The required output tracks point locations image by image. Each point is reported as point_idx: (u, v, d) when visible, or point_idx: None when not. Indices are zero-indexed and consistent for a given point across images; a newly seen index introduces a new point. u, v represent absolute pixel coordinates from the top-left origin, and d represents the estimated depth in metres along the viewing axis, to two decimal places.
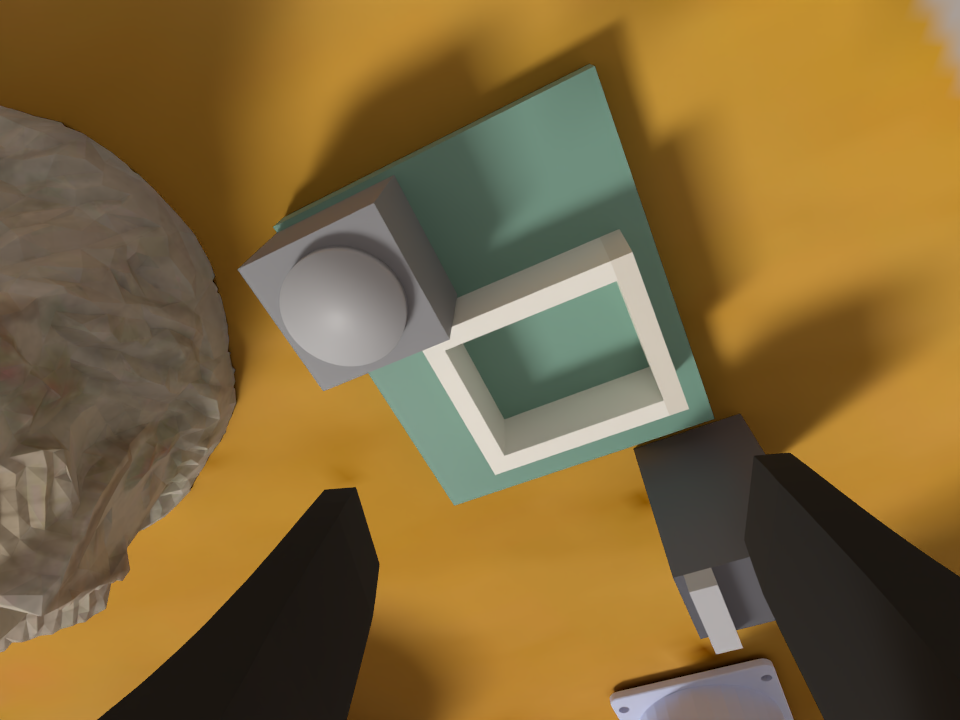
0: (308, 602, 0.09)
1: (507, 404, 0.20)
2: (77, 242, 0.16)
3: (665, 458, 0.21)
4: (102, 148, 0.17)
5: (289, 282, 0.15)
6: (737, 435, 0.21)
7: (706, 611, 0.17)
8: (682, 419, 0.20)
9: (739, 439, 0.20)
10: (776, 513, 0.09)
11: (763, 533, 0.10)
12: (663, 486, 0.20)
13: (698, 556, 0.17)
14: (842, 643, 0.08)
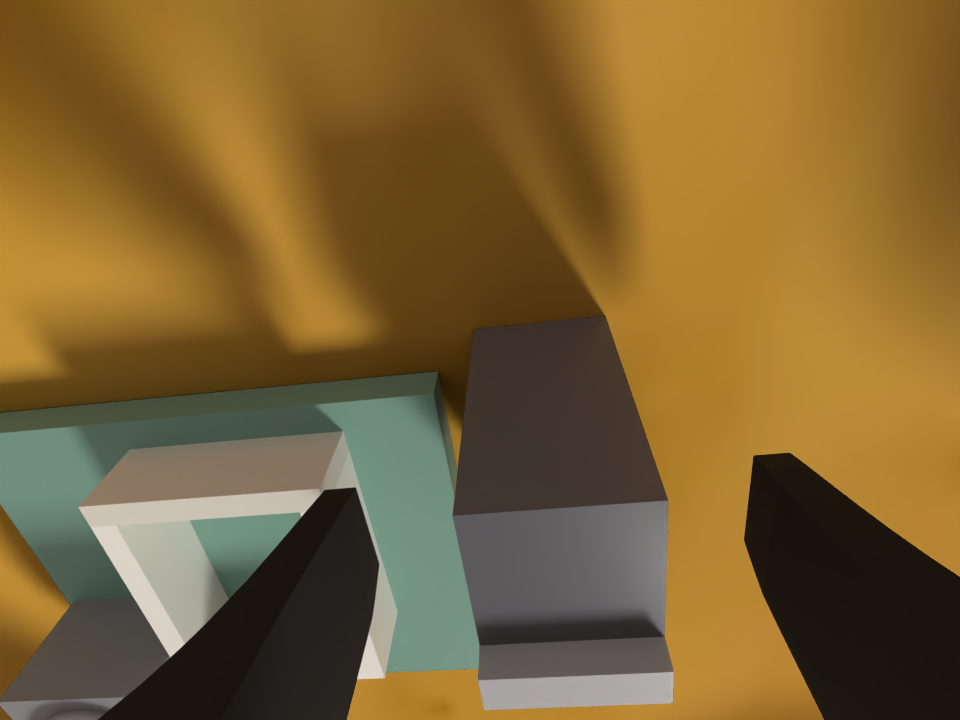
0: (308, 602, 0.09)
1: None
2: None
3: None
4: None
5: None
6: None
7: (542, 699, 0.09)
8: (422, 431, 0.14)
9: None
10: (776, 513, 0.09)
11: (763, 533, 0.10)
12: None
13: None
14: (842, 643, 0.08)
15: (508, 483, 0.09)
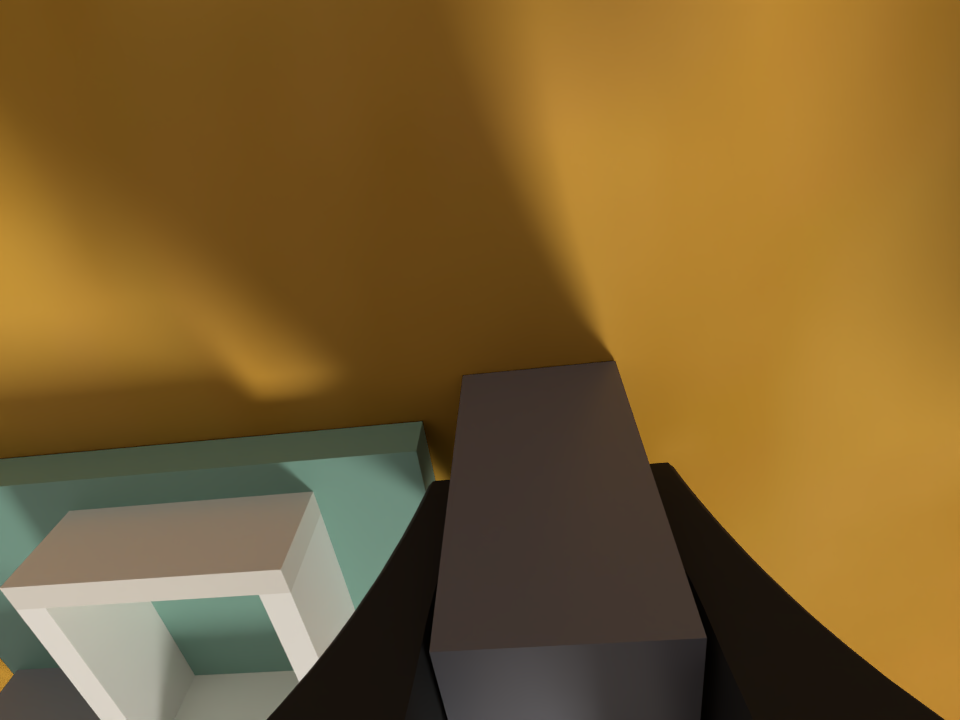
0: None
1: None
2: None
3: None
4: None
5: None
6: None
7: None
8: (404, 492, 0.12)
9: None
10: None
11: None
12: None
13: None
14: None
15: (501, 603, 0.07)
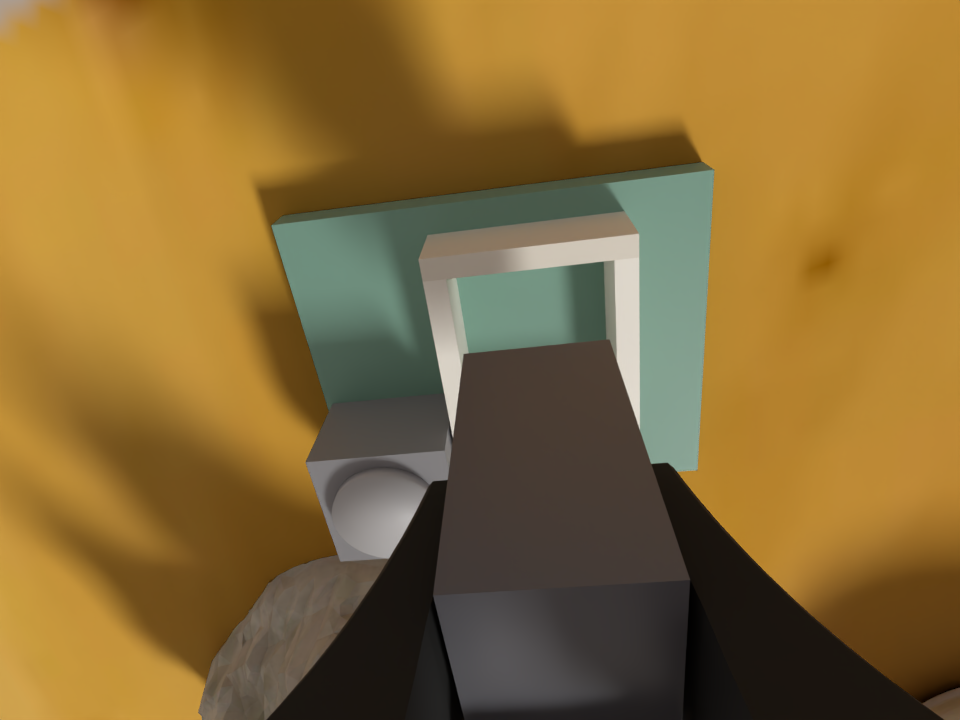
0: None
1: None
2: (312, 639, 0.22)
3: None
4: (288, 571, 0.25)
5: (352, 541, 0.18)
6: None
7: None
8: (695, 210, 0.16)
9: None
10: None
11: None
12: None
13: None
14: (686, 651, 0.08)
15: (500, 553, 0.07)
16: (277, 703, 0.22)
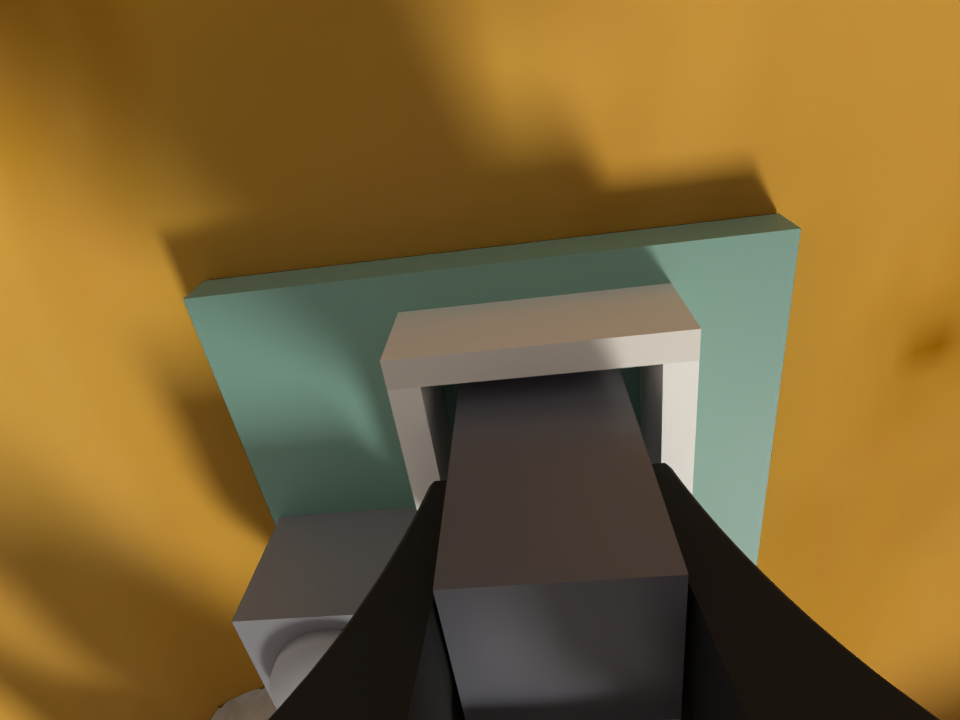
0: None
1: None
2: None
3: None
4: (240, 697, 0.20)
5: None
6: None
7: None
8: (771, 282, 0.11)
9: None
10: None
11: None
12: None
13: None
14: None
15: (500, 548, 0.08)
16: None
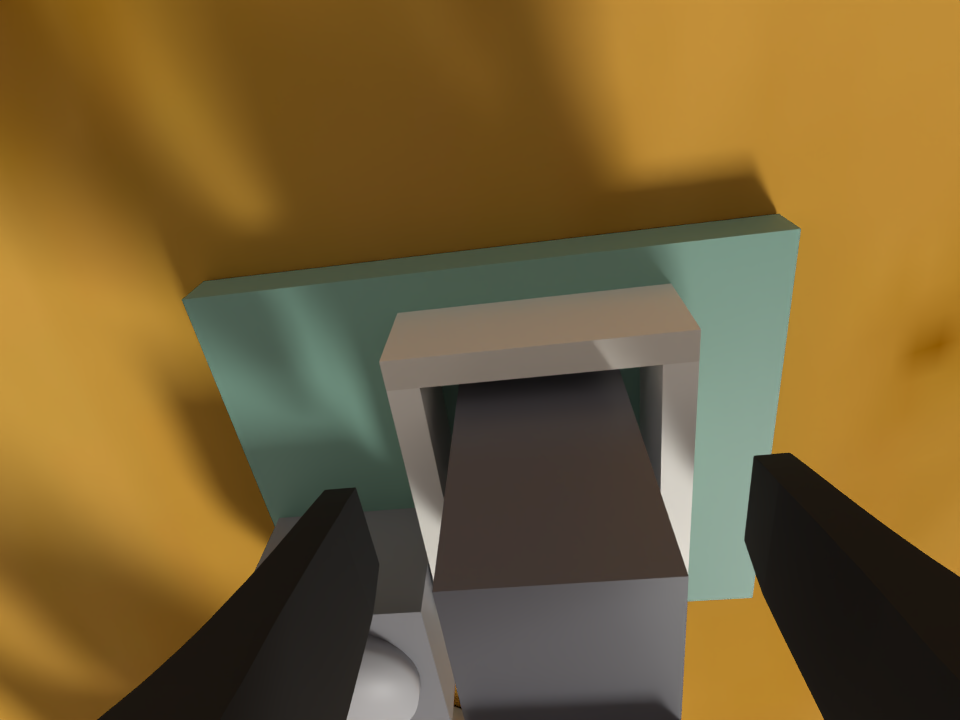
0: (308, 602, 0.09)
1: None
2: None
3: None
4: None
5: None
6: None
7: None
8: (771, 282, 0.11)
9: None
10: (776, 513, 0.09)
11: (763, 533, 0.10)
12: None
13: None
14: (842, 643, 0.08)
15: (499, 549, 0.08)
16: None
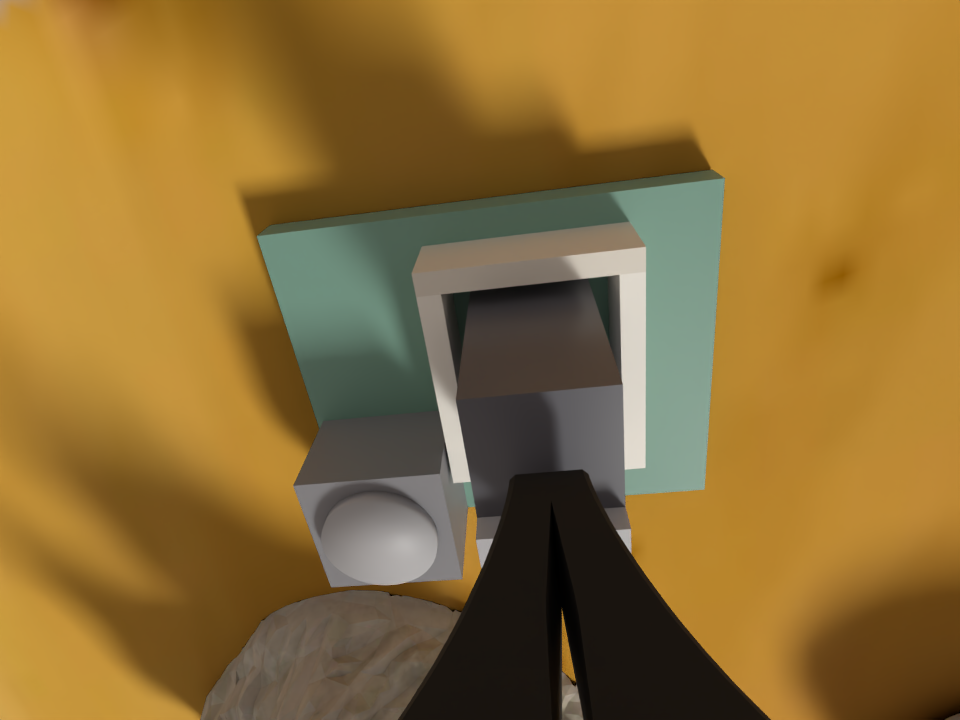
0: (549, 587, 0.08)
1: None
2: (304, 683, 0.22)
3: None
4: (281, 610, 0.24)
5: (342, 568, 0.17)
6: None
7: None
8: (705, 220, 0.15)
9: None
10: (554, 528, 0.10)
11: None
12: None
13: None
14: (579, 656, 0.08)
15: (500, 379, 0.11)
16: None
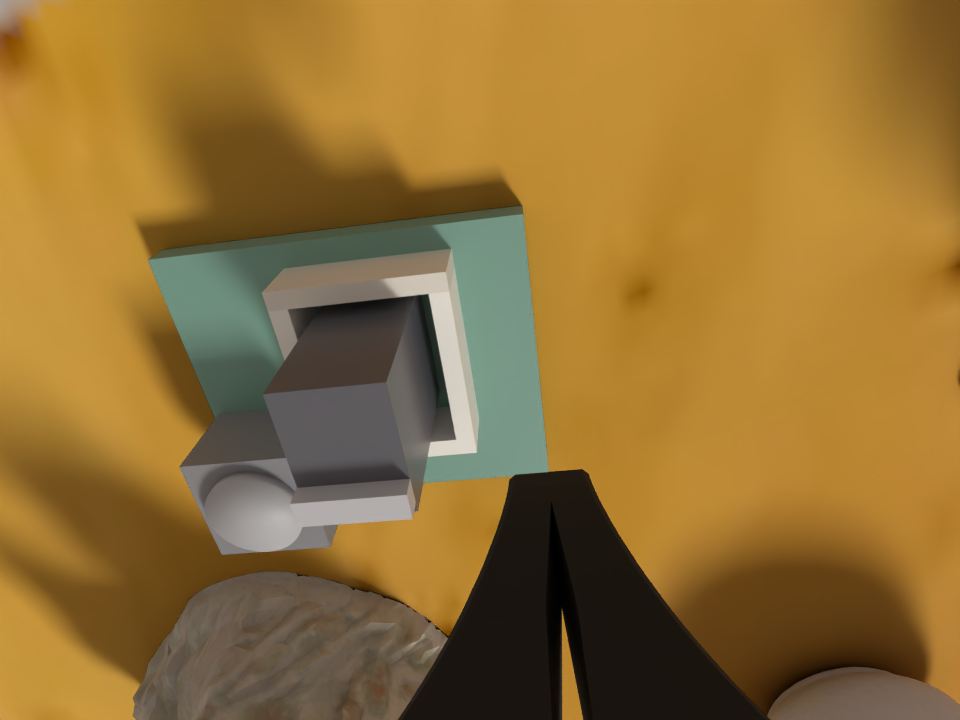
0: (550, 587, 0.08)
1: (444, 399, 0.21)
2: (216, 650, 0.25)
3: None
4: (204, 589, 0.28)
5: (226, 536, 0.20)
6: None
7: (332, 518, 0.15)
8: (512, 247, 0.18)
9: None
10: (554, 529, 0.10)
11: None
12: None
13: None
14: (579, 656, 0.08)
15: (302, 378, 0.14)
16: (185, 706, 0.25)
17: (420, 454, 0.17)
